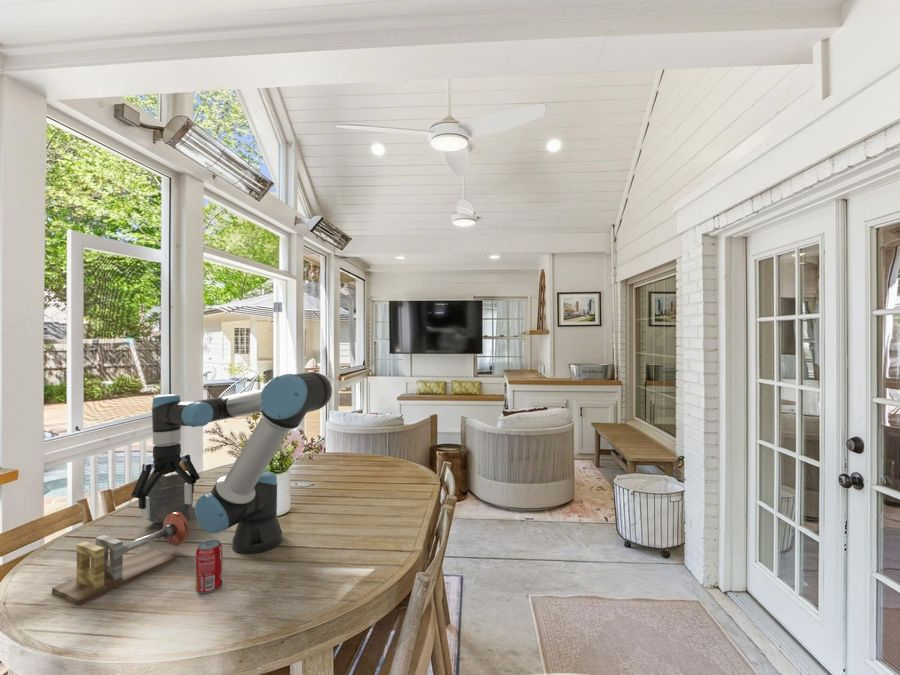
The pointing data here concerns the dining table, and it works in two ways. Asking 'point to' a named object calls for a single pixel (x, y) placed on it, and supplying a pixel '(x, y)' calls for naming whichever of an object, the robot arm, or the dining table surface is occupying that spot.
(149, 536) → the red knob rod
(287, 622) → the dining table surface
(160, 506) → the grey plant pot
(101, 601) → the dining table surface
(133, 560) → the board
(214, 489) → the robot arm
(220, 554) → the soda can
